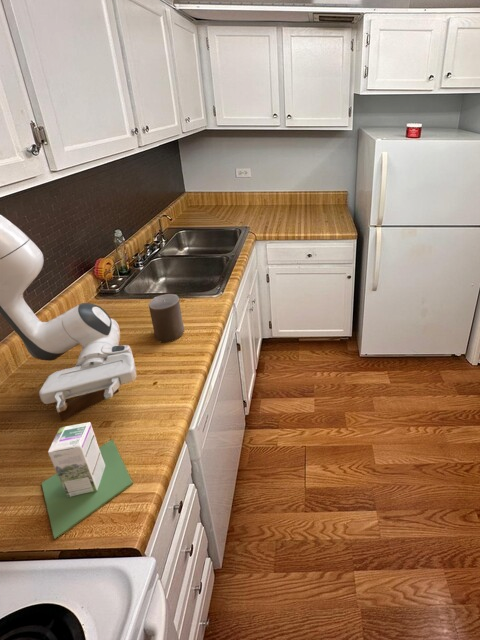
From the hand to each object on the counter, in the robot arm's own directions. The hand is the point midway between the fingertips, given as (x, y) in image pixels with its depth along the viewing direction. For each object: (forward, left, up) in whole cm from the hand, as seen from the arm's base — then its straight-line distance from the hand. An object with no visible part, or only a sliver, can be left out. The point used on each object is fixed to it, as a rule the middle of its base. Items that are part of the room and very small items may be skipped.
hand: (84, 402), depth 78 cm
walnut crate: (+2, +19, -12) cm, 22 cm away
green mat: (-4, -10, -12) cm, 17 cm away
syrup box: (-4, -10, -12) cm, 16 cm away
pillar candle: (+30, +27, -12) cm, 42 cm away
